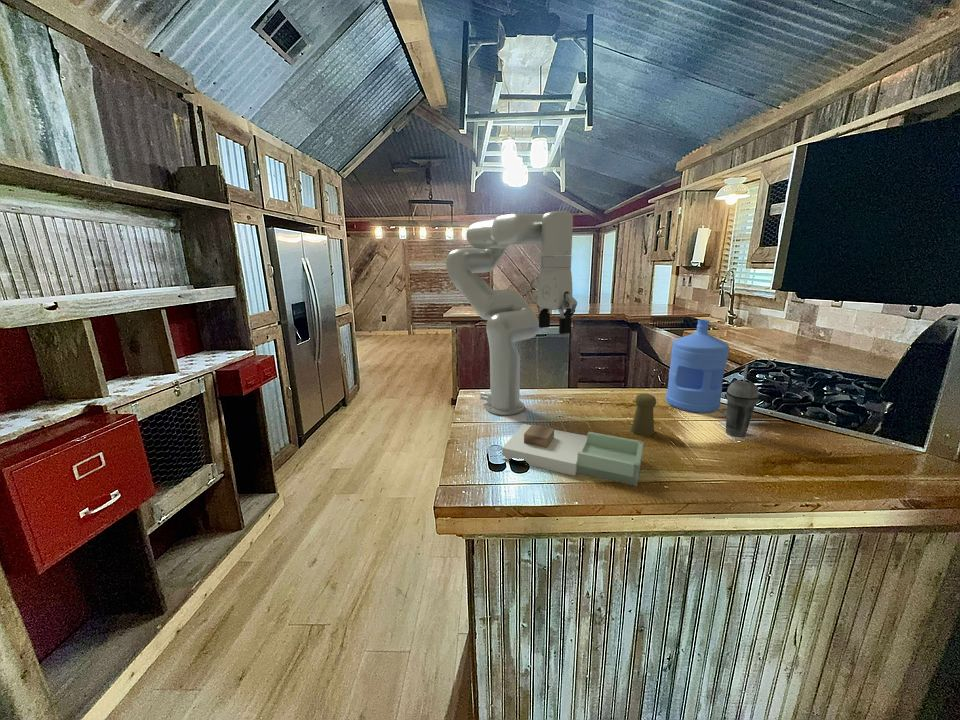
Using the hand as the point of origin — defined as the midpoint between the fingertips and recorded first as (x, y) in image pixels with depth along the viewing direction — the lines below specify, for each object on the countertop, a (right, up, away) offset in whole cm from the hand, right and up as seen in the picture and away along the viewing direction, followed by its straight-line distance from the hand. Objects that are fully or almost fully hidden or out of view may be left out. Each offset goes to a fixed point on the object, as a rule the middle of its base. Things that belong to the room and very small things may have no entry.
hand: (554, 330), depth 100 cm
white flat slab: (-3, -31, -4) cm, 32 cm away
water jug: (+50, -23, +25) cm, 61 cm away
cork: (+26, -28, +6) cm, 39 cm away
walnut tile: (-5, -28, -4) cm, 29 cm away
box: (+11, -33, -11) cm, 36 cm away
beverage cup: (+51, -28, +4) cm, 58 cm away
